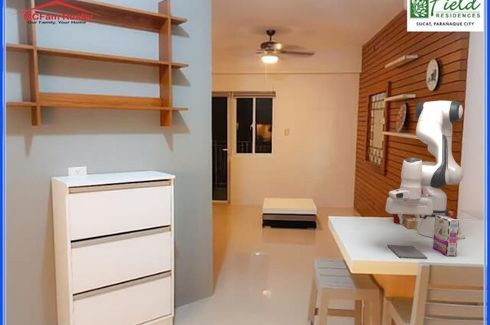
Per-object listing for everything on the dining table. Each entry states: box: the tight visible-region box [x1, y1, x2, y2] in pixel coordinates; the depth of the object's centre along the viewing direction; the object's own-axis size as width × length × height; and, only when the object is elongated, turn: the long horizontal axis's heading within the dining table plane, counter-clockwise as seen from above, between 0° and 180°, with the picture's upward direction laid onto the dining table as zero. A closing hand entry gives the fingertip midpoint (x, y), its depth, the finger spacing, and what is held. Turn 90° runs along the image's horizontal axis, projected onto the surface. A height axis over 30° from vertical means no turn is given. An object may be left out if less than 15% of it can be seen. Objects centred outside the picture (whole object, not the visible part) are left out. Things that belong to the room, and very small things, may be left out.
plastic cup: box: [392, 214, 408, 225], centre depth 227 cm, size 11×11×12 cm
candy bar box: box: [432, 215, 460, 257], centre depth 175 cm, size 11×5×16 cm, turn 5°
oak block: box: [400, 215, 419, 231], centre depth 172 cm, size 4×4×10 cm
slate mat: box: [386, 244, 428, 260], centre depth 174 cm, size 12×16×1 cm
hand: (408, 223), depth 173 cm, fingers closed on oak block, 4 cm apart
